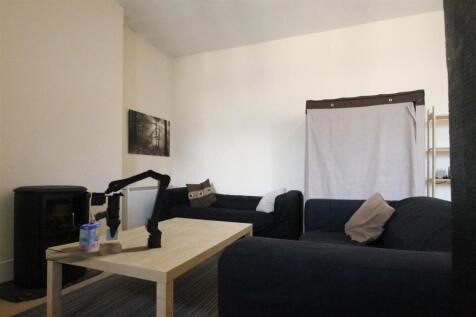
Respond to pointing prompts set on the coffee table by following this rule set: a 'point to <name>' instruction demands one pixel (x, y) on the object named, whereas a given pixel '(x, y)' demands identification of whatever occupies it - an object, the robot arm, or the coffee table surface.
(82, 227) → the ink cartridge box
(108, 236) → the slate cube
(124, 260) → the coffee table surface
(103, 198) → the robot arm
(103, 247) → the walnut block
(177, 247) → the coffee table surface
